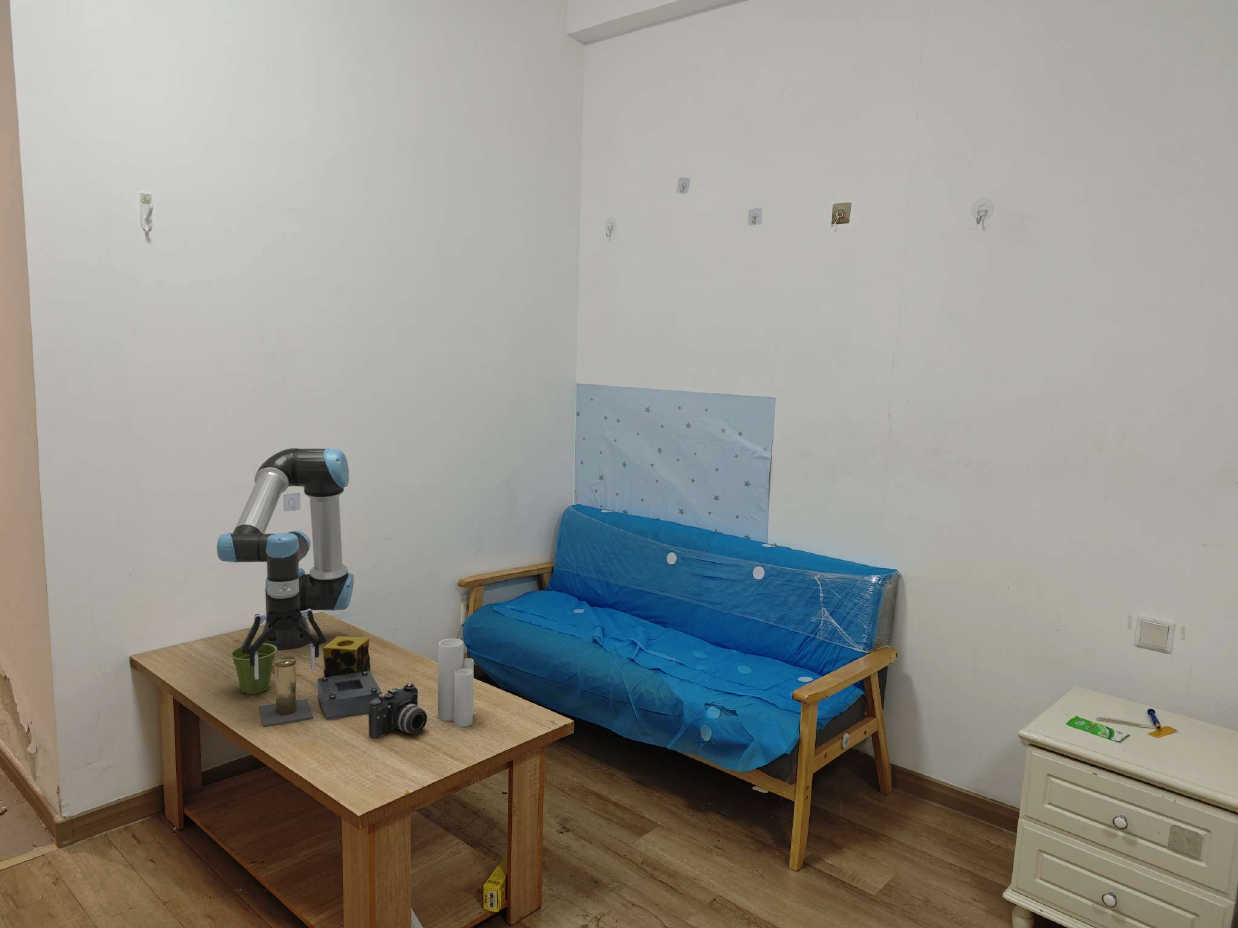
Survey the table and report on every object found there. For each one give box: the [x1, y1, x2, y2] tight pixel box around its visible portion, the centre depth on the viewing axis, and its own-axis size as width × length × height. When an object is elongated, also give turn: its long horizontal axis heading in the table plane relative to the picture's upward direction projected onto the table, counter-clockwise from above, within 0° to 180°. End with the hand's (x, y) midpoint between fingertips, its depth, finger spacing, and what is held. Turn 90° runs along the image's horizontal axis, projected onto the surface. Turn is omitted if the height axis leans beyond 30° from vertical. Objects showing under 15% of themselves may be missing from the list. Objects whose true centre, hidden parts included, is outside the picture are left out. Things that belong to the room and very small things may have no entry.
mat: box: [258, 698, 314, 728], centre depth 215 cm, size 12×12×1 cm
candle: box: [322, 635, 371, 677], centre depth 240 cm, size 10×10×10 cm
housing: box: [316, 670, 383, 720], centre depth 222 cm, size 16×14×6 cm
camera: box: [368, 683, 428, 739], centre depth 207 cm, size 14×11×10 cm
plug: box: [274, 655, 297, 715], centre depth 214 cm, size 5×5×14 cm
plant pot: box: [229, 643, 278, 695], centre depth 228 cm, size 12×12×11 cm
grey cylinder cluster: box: [437, 638, 475, 728], centre depth 215 cm, size 11×7×20 cm, turn 59°
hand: (285, 673), depth 213 cm, fingers open, 13 cm apart
